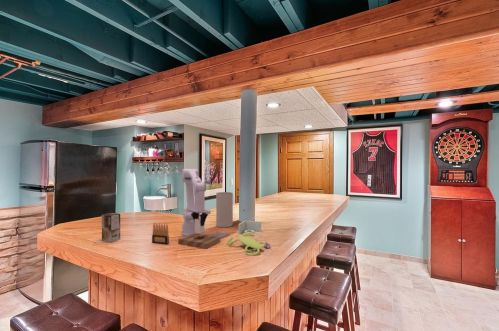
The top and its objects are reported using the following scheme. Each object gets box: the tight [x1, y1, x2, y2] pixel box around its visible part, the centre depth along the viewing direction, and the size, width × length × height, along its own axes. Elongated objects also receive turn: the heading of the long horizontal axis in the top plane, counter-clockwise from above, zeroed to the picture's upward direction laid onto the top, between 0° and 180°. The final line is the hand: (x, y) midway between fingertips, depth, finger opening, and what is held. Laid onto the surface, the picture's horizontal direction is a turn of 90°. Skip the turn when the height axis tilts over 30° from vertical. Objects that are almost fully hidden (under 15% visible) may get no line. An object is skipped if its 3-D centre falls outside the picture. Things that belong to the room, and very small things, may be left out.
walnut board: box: [177, 233, 221, 250], centre depth 144 cm, size 20×14×3 cm
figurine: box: [225, 232, 271, 257], centre depth 138 cm, size 18×27×6 cm
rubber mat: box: [210, 231, 230, 240], centre depth 160 cm, size 10×10×1 cm
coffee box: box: [101, 212, 121, 243], centre depth 150 cm, size 9×6×16 cm
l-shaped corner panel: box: [237, 220, 262, 235], centre depth 166 cm, size 12×12×8 cm
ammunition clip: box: [151, 222, 170, 246], centre depth 143 cm, size 11×2×12 cm, turn 74°
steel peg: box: [195, 218, 205, 234], centre depth 145 cm, size 4×4×8 cm
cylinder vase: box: [215, 191, 234, 228], centre depth 186 cm, size 12×12×25 cm
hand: (199, 225), depth 145 cm, fingers closed on steel peg, 4 cm apart
